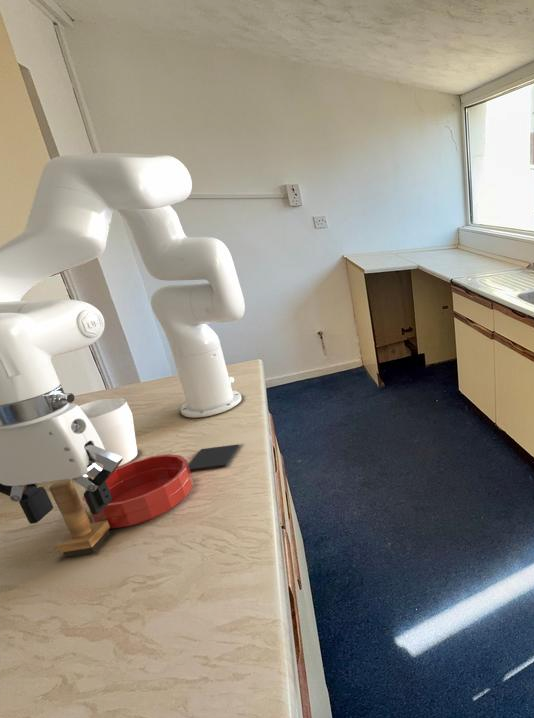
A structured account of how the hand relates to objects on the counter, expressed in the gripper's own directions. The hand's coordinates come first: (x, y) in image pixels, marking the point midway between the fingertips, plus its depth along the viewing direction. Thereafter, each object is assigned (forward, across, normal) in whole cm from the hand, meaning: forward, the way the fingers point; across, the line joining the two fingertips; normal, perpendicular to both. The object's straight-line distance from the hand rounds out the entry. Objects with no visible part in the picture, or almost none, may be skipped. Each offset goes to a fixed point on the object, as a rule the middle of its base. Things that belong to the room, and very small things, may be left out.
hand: (72, 511), depth 59 cm
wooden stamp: (+7, 0, 0) cm, 7 cm away
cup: (+7, +10, -24) cm, 27 cm away
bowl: (+7, -3, -9) cm, 12 cm away
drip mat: (+7, -9, -20) cm, 23 cm away
